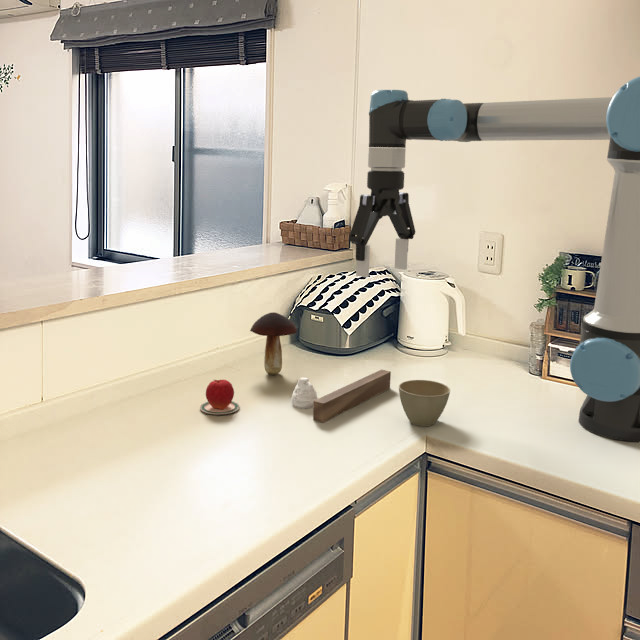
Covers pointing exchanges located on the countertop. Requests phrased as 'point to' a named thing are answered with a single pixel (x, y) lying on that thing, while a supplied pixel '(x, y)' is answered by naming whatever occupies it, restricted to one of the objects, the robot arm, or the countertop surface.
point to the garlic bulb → (304, 394)
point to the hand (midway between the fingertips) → (382, 272)
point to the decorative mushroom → (273, 338)
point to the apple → (219, 398)
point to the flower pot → (423, 400)
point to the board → (350, 396)
